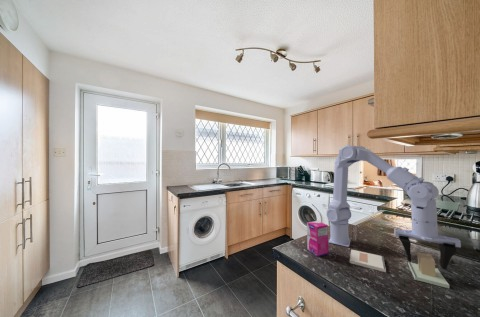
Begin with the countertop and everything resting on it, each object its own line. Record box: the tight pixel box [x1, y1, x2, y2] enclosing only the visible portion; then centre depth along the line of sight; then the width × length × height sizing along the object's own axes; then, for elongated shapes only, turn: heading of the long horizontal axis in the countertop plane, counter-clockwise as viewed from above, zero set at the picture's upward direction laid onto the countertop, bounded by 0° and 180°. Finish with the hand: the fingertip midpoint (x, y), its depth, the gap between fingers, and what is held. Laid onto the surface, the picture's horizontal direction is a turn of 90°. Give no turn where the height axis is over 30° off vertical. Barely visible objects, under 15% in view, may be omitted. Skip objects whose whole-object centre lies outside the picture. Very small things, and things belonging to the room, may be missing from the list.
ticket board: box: [349, 249, 387, 273], centre depth 65 cm, size 10×10×1 cm
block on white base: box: [407, 251, 450, 289], centre depth 56 cm, size 10×7×6 cm
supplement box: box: [306, 220, 330, 257], centre depth 72 cm, size 6×6×12 cm
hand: (425, 264), depth 56 cm, fingers open, 7 cm apart
